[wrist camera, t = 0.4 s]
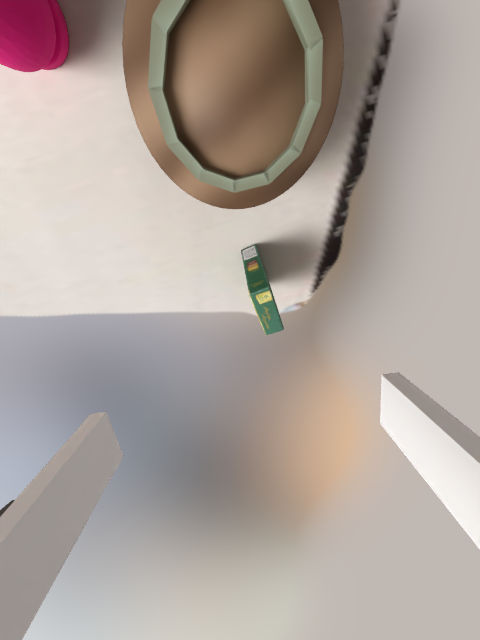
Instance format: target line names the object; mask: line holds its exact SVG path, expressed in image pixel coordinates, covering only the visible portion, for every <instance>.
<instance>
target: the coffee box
mask: <svg viewBox="0 0 480 640" xmlns="http://www.w3.org/2000/svg"><path fill="white" fill-rule="evenodd" d="M241 253H242V258H243V263H244V269H245V274H246V279H247V285H248V290H249V295H250V298H251V300H252V303H253V305H254V308H255V310H256V313H257V315H258V318H259V320H260V322H261V325H262V327H263V329H264V332H265V334H266V335H268V334H272V333H275V332H279V331H282V330H283V329H284V327H283V325H282V321H281V318H280V315H279V312H278V309H277V305H276V303H275V300H274V296H273V293H272V290H271V287H270V284H269V281H268V278H267V275H266V272H265V269H264V266H263V263H262V260H261V257H260V255H259V252H258V249H257V246H256V245H255V244H254V245H252V246H250V247H248V248H245V249H243V250H241Z"/></svg>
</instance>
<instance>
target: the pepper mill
mask: <svg viewBox="0 0 480 640" xmlns="http://www.w3.org/2000/svg"><path fill="white" fill-rule="evenodd" d="M68 48H69V36H68V30H67V25H66V22H65V19H64V16H63V13H62V11H61V9H60V6H59V4H58V2H57V1H56V0H0V64H1V65H4V66H7V67H9V68H12V69H15V70H18V71H22V72H34V71H38V70H41V69H44V70H52V69H56V68H57V67H59V66H61V64H62V63H63V62H64V61H65V59H66V57H67V54H68Z"/></svg>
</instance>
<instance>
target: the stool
mask: <svg viewBox="0 0 480 640" xmlns="http://www.w3.org/2000/svg"><path fill="white" fill-rule="evenodd" d="M122 45H123V67H124V74H125V81H126V88H127V92H128V96H129V101H130V105H131V108H132V111H133V114H134V117H135V120H136V123H137V126H138V128H139V131H140V133H141V135H142V137H143V140H144V142H145V144H146V145H147V147H148V149H149V151H150V152H151V154H152V156H153V157H154V159H155V160H156V162H157V163H158V164H159V166H160V167H161V169H162V170H163V171H164V172H165V173H166V174H167V175H168V177H169V178H170V179H171V180H172V181H173V182H174V183H175V184H177V185H178V186H179V187H180V188H181V189H182V190H184V191H185V192H187V193H188V194H189V195H191V196H192V197H194V198H196V199H198V200H200V201H202V202H204V203H207V204H209V205H212V206H216V207H220V208H227V209H245V208H251V207H255V206H258V205H261V204H264V203H267V202H269V201H271V200H273V199H275V198H276V197H278V196H280V195H281V194H283V193H284V192H285V191H287V190H288V189H289V188H290V187H292V186H293V185H294V184H295V183H296V182H297V181H298V180H299V179H300V178H301V177H302V176H303V174H304V173H305V172H306V171H307V169H308V168H309V167H310V166H311V164H312V163H313V161H314V159H315V158H316V156H317V155H318V153H319V151H320V149H321V147H322V145H323V143H324V141H325V139H326V137H327V135H328V132H329V130H330V127H331V125H332V122H333V118H334V115H335V112H336V108H337V104H338V99H339V94H340V89H341V82H342V73H343V51H344V45H343V31H342V21H341V15H340V9H339V3H338V0H127V3H126V9H125V16H124V25H123V43H122Z"/></svg>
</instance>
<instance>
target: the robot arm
mask: <svg viewBox="0 0 480 640" xmlns="http://www.w3.org/2000/svg"><path fill="white" fill-rule="evenodd" d="M381 381H382V382H381V410H380V412H381V413H380V424H381V425H382V426H383V428H384V429H385V430H386V431H387V433H388V434H389V435H390V436H391V438H392V439H393V440H394V442H395V443H396V444H397V445H398V447H399V448H400V449H401V450H402V452H403V453H404V454H405V455H406V457H407V458H408V459H409V460H410V461H411V463H412V464H413V466H414V467H415V468H416V469H417V470H418V472H419V473H420V474H421V476H422V477H423V478H424V479H425V481H426V482H427V483H428V484H429V486H430V487H431V488H432V490H433V491H434V492H435V493H436V495H437V496H438V497H439V498H440V499H441V501H442V502H443V503H444V505H445V506H446V507H447V508H448V510H449V511H450V512H451V513H452V515H453V516H454V517H455V519H456V520H457V521H458V522H459V524H460V525H461V526H462V527H463V528H464V530H465V531H466V532H467V534H468V535H469V536H470V538H471V539H472V540H473V541H474V543H475V544H476V545H477V546H478V548H479V549H480V437H479V436H478V435H477V434H475V433H474V432H473V431H472V430H470V429H469V428H468V427H467V426H465V425H464V424H463V423H462V422H460V421H459V420H458V419H457V418H455V417H454V416H453V415H451V414H450V413H449V412H448V411H446V410H445V409H444V408H443V407H442V406H440V405H439V404H438V403H436V402H435V401H434V400H433V399H431V398H430V397H429V396H428V395H426V394H425V393H424V392H423V391H421V390H420V389H419V388H418V387H416V386H415V385H414V384H413V383H411V382H410V381H409V380H408V379H406V378H405V377H404V376H403V375H401V374H400V373H399V372H398V373H390V374H383V375H382V379H381ZM122 457H123V453H122V451H121V448H120V446H119V443H118V441H117V438H116V436H115V434H114V431H113V428H112V426H111V423H110V421H109V418H108V416H107V413H106V412H104V413H95V414H90V416H89V417H88V418H87V419H86V420H85V421H84V423H83V424H82V425H81V426H80V427H79V428H78V429H77V430H76V431H75V433H74V434H73V435H72V436H71V437H70V438H69V440H68V441H67V442H66V443H65V444H64V445H63V446H62V447H61V449H60V450H59V451H58V452H57V453H56V454H55V455H54V456H53V458H52V459H51V460H50V461H49V462H48V463H47V464H46V466H45V467H44V468H43V469H42V470H41V471H40V472H39V473H38V475H37V476H36V477H35V478H34V479H33V480H32V482H31V483H30V484H29V485H28V486H27V487H26V488H25V489H24V491H23V492H22V493H21V494H20V495H19V496H18V497H17V498H16V500H12V501H11V502H10V503H9V504H7V505H6V506H5V507H4V508H2V509H1V510H0V640H22V638H23V637H24V635H25V633H26V631H27V630H28V628H29V626H30V624H31V622H32V620H33V619H34V617H35V615H36V613H37V611H38V609H39V608H40V606H41V604H42V602H43V600H44V599H45V597H46V595H47V593H48V591H49V590H50V588H51V586H52V584H53V582H54V581H55V579H56V577H57V575H58V573H59V572H60V570H61V568H62V566H63V564H64V563H65V561H66V559H67V557H68V555H69V553H70V552H71V550H72V548H73V546H74V544H75V543H76V541H77V539H78V537H79V535H80V534H81V532H82V530H83V528H84V526H85V524H86V523H87V521H88V519H89V517H90V515H91V513H92V511H93V510H94V508H95V506H96V504H97V503H98V501H99V499H100V497H101V495H102V494H103V492H104V490H105V488H106V486H107V484H108V483H109V481H110V479H111V477H112V475H113V473H114V472H115V470H116V468H117V466H118V465H119V463H120V461H121V459H122Z"/></svg>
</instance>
